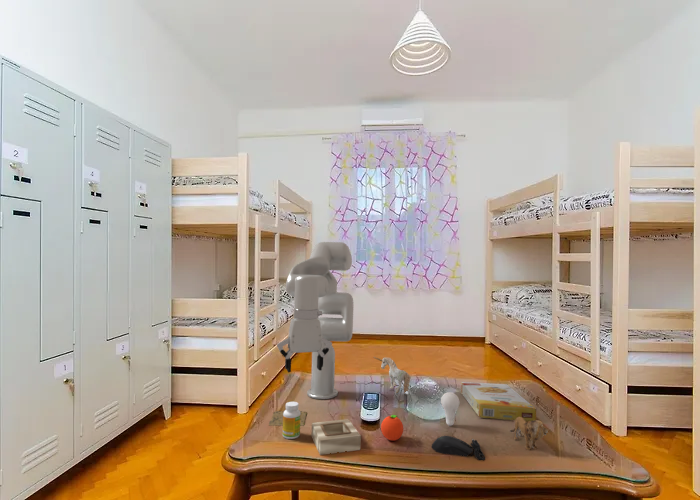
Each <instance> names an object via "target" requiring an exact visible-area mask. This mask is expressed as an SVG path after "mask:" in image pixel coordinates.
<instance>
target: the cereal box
mask: <svg viewBox="0 0 700 500" xmlns="http://www.w3.org/2000/svg"><path fill="white" fill-rule="evenodd" d="M460 394H461V395H462V394H463V395H462V396H463V397H464V399H465V400H466V401H467V402H468V404H469V405H470V407H471V408H472V409H473V411H474V412H475V414H476V415H477V416H478V417H479V418H481V419H483V418H484V419H494V420H507V421H515V420H516V418H517V417H522V418H524V419H525V422H528V421H529V422H530V421H534V420H537V408H536V407H535V406H534V405H532V404H531V403H529V401H528V400H526V399H525V398H524V397H523V396H521V395H520V394H519V393H518V392H517V391H516V390H514V389H513V388H512V387H510V385H508V384H507V383H491V382H490V383H489V382H486V383H485V382H470V381H469V382H468V381H461V382H460Z"/></svg>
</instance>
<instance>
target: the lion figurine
mask: <svg viewBox="0 0 700 500" xmlns="http://www.w3.org/2000/svg"><path fill="white" fill-rule="evenodd" d="M509 432H510V433H514V437H513V439H514V441H519V438H518V436H519V437H522V436H524V440H525V450H527V451H531V447H532V448H533V449H534V450H536V449H538V446H537V445H536V443H537V442H538V441H539V440H541V439H543V438H544V436H547V433H548V432H549V429H548V428H547V427H546V426H544V424H543V422H542V421H541V420H537V419H536V420H534V421H525V419H524V418H522V417H517V418H516V420H514V428H513V429H511V430H510V431H509ZM530 441H531V446H530Z"/></svg>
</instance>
